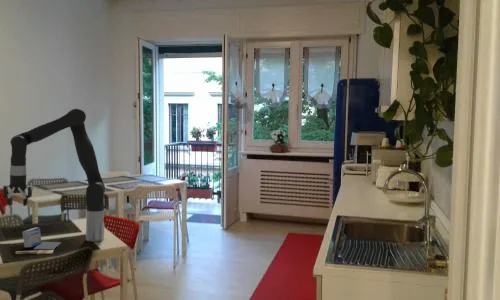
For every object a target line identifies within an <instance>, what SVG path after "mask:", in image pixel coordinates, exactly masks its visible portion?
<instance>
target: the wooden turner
mask: <svg viewBox="0 0 500 300" xmlns="http://www.w3.org/2000/svg"><path fill="white" fill-rule="evenodd" d="M54 251H55V249H54V250H16V251H15V253H14V254H15V255H28V254H29V255H30V254H31V255H33V254H36V255H52V254H54Z"/></svg>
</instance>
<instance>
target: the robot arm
mask: <svg viewBox="0 0 500 300" xmlns="http://www.w3.org/2000/svg"><path fill="white" fill-rule="evenodd" d="M86 119H87V114H86V112H85V111H84V109H83V110H82V109H81V108H73V109H71V110H69V111H68V112H67V113H66V114H64V115H63V116H60V117H59V118H56V119H54V120H51V121H49V122H47V123H43V124H41V125H38V126H36V127H34V128H31V129H30V130H28V131H25V132H22V133H19V134H16V135H14V136H12V138H11V139H10V141H9V142H10V146H11V156H10V169H9V185H7V184H5V185H3V188H2V189H3V197H4V198H6V199H8V200H7V203H8V206H13V204H14V203H13V202H14V201H13V199H14V198H13V196H14V195H15V194H20V195H21V196H22V198H23V202H22V203H23V207H25V206H27V205H28V203H29V202H28V201H29V198H31V197H32V195H33V189H34V186H32V185H30V186H29V185H27V150H28V149H27V147H28V146H29V145H30V144H33V143H37V142H41V141H42V140H44V139H46V138H49V137H50V136H52V135H54V134H56V133H58V132H61V131H62V130H65V129H67V128H70V130H71V133H72V136H73V143H74V146H75V147H74V148H75V151H76V155H77V159H78V161H79V164H80V166H81V168H82V170H83V171H84V174H85V175H86V181H87V187H86V190H85V207H86V216H85V217H86V221H85V222H86V224H85V241H87V242H89V243H90V242H102V241H103V240H104V238H105V221H104V217H105V215H104V213H105V212H104V211H105V206H104V205H105V204H104V194H105V191H106V187H105V183H104V181H103V178H102V176H101V173H100V170H99V166H98V160H97V155H96V152H95V149H94V145H93V143H92V141H91V139H90V137H89V135H88V133H87V131H86V130H87V129H86V124H85V122H86ZM9 189H10V191H9ZM26 190H27V191H26Z"/></svg>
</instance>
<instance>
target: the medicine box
mask: <svg viewBox="0 0 500 300" xmlns="http://www.w3.org/2000/svg"><path fill="white" fill-rule="evenodd" d="M21 233H22V238H23V246H24V248H32V247H36V246H38V245H39V244H40V243H42V242H43V240H42V236H41V229H40V227H33V228H29V229H26V230H24V231H22V232H21Z"/></svg>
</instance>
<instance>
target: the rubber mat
mask: <svg viewBox="0 0 500 300" xmlns="http://www.w3.org/2000/svg"><path fill="white" fill-rule="evenodd" d="M61 244H62V242H61V241H42V243H40V244H38V245H36V246H34V248H33V251H39V250H54V251H55V250H56V249H57V248H58V247H59V246H60V245H61ZM56 247H57V248H56ZM55 248H56V249H55Z"/></svg>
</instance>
